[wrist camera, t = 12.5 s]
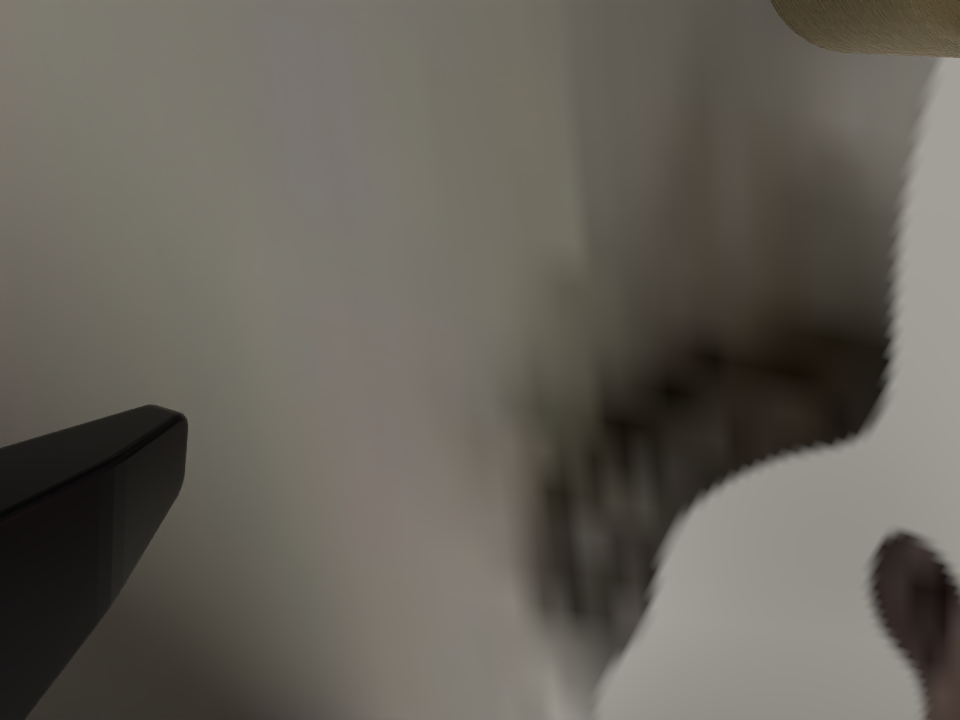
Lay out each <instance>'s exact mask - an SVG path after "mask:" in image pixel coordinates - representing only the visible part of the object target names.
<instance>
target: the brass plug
mask: <svg viewBox="0 0 960 720" xmlns="http://www.w3.org/2000/svg"><path fill="white" fill-rule="evenodd" d="M771 2H772V4H773V6H774V7H775V9H776V10H777V12H778V14H779V15H780V16H781V18H782V19H783V20H784V21H785V23H786V24H787V25H788V26H789V27H790V28H791V29H792V30H793V31H795V32H796V33H797V34H798V35H799V36H801V37H802V38H804V39H805V40H807V41H808V42H810V43H813V44H815V45H817V46H819V47H821V48H825V49H828V50H832V51H838V52H846V53H865V54H887V55H909V56H931V57H953V58H960V0H771Z"/></svg>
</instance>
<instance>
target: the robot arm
mask: <svg viewBox="0 0 960 720" xmlns="http://www.w3.org/2000/svg"><path fill="white" fill-rule="evenodd" d="M187 436H188V422H187V418H186V417H185V416H184V414H182V413H180V412H177V411H174V410H170V409H167V408H164V407H160V406H157V405H145V406H142V407H138V408H135V409H131V410H128V411H125V412H121V413H118V414H114V415H111V416H108V417H104V418H101V419H97V420H94V421H91V422H87V423H84V424H80V425H77V426H74V427H70V428H67V429H64V430H60V431H57V432H53V433H50V434H47V435H43V436H40V437H36V438H33V439H30V440H26V441H23V442H19V443H16V444H13V445H9V446H6V447H2V448H0V720H25V718H26V717H27V716H28V714H29V713H30V712H31V710H32V709H33V708H34V707H35V705H36V704H37V703H38V701H39V700H40V699H41V697H42V696H43V695H44V694H45V692H46V691H47V690H48V688H49V687H50V686H51V684H52V683H53V682H54V680H55V679H56V678H57V677H58V675H59V674H60V673H61V671H62V670H63V669H64V667H65V666H66V665H67V664H68V662H69V661H70V660H71V658H72V657H73V656H74V654H75V653H76V652H77V651H78V649H79V648H80V647H81V645H82V644H83V643H84V641H85V640H86V639H87V637H88V636H89V635H90V634H91V632H92V631H93V630H94V628H95V627H96V626H97V624H98V623H99V622H100V620H101V619H102V618H103V616H104V615H105V613H106V612H107V611H108V609H109V608H110V607H111V605H112V603H113V602H114V600H115V599H116V597H117V596H118V594H119V592H120V591H121V589H122V588H123V586H124V584H125V583H126V581H127V579H128V578H129V576H130V574H131V573H132V571H133V569H134V568H135V566H136V564H137V563H138V561H139V559H140V558H141V556H142V554H143V553H144V551H145V549H146V548H147V546H148V544H149V543H150V541H151V539H152V538H153V536H154V534H155V533H156V531H157V529H158V528H159V526H160V524H161V523H162V521H163V519H164V518H165V516H166V514H167V513H168V511H169V510H170V508H171V506H172V505H173V503H174V501H175V500H176V498H177V496H178V494H179V492H180V490H181V487H182V484H183V480H184V475H185V463H186V450H187Z"/></svg>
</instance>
